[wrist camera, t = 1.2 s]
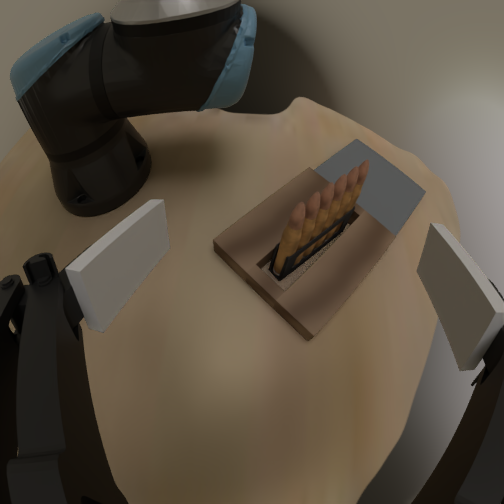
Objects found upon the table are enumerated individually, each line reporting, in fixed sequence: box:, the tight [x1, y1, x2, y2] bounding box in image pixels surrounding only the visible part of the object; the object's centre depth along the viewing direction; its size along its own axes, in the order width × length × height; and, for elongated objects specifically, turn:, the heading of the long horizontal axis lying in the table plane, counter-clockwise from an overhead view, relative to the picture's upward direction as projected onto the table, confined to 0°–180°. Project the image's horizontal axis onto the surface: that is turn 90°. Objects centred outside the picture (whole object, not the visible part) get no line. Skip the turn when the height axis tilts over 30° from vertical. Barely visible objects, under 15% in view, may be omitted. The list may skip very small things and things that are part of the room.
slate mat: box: [314, 139, 426, 236], centre depth 38 cm, size 14×13×1 cm
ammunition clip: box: [269, 159, 369, 281], centre depth 27 cm, size 11×2×12 cm, turn 129°
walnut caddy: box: [213, 167, 396, 341], centre depth 31 cm, size 14×16×2 cm
